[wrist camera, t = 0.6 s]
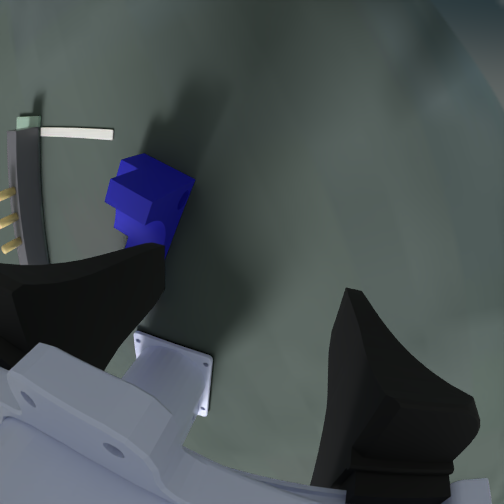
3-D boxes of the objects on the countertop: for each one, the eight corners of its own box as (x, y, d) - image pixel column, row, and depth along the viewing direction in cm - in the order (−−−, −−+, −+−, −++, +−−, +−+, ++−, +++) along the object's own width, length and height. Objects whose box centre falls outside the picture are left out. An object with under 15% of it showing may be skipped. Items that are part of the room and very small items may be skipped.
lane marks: (117, 303, 28) (116, 304, 28) (53, 278, 30) (52, 278, 30) (113, 129, 21) (112, 130, 21) (41, 127, 23) (40, 127, 23)
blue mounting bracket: (145, 153, 22) (92, 168, 17) (196, 179, 22) (152, 202, 16) (111, 276, 27) (70, 310, 22) (151, 301, 27) (114, 342, 22)
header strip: (53, 286, 30) (22, 309, 26) (32, 276, 31) (2, 298, 26) (40, 115, 22) (-4, 123, 18) (19, 116, 23) (-22, 124, 18)
